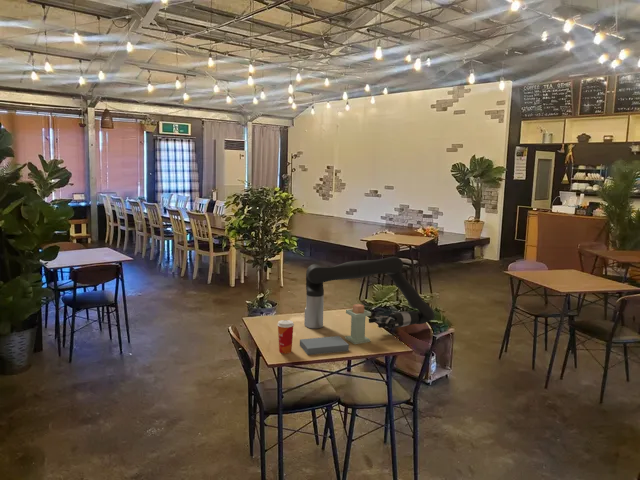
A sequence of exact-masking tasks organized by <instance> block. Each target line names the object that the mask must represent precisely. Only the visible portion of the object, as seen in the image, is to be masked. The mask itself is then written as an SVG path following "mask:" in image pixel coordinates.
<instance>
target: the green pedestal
mask: <svg viewBox="0 0 640 480" xmlns="http://www.w3.org/2000/svg"><path fill="white" fill-rule="evenodd" d="M345 313H346V314H347V315H349V316H351V317H350V319H351V321H350V335H345V337H344V340H347V342H348V341H349V342H350V343H351V344H353V345H357V344H358V345H359V344H364V343H370V342H371V339H370V338H369V337H367V336H366V317H371V316H372V312H371V311H370V310H366V309H365V308H364V313H360V314H355V313H353V308H351V309H346V310H345Z"/></svg>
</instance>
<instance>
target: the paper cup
mask: <svg viewBox="0 0 640 480" xmlns="http://www.w3.org/2000/svg"><path fill="white" fill-rule="evenodd" d="M294 326H295V324H294V322H293V320H289V319H287V320H286V319H284V320H283V319H281V320H278V322H277V331H278V335H277V337H278V352H279V353H280V354H285V355H286V354H291V353H292V350H293V349H292V347H293V336H294Z"/></svg>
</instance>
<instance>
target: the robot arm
mask: <svg viewBox="0 0 640 480" xmlns="http://www.w3.org/2000/svg"><path fill="white" fill-rule="evenodd" d="M403 267H404V262H403V260H402V259H401V258H400V257H397V256H389V257H385V258H380V259H373V260H372V259H369V260H368V259H366V260H352V261H347V262H343V263H340V264H337V265H335V266H321V265H320V264H317V263H313V264H310V265H309V266H308V267H307V269H306V272H305V288H306V289H305V291H306V294H305V295H306V299H305V301H306V304H305V305H306V306H305V308H304V325H305V327H306V328H309V329H321V328H323V327H324V305H325V304H324V302H325V301H324V300H325V299H324V298H325V296H324V295H325V294H324V293H325V291H324V283H326V282H331V281H338V280H339V281H340V280H355V279H362V278H366V277H369V276H373V275H377V274H378V275H379V274H387V275H388V277H389V278H390V279H391V280H392V281H393V282H394V284H395V285H396V286H397V287H398V289H399V290H400V292H401V294H402V295H403V297H404V298H405V300H406V301H407V302H408V304H409V306H410V307H411V308H412V309H417V310H418V311H414V310H409V311H397V312H391V313H390V314H389V315H388V316H385V315H384V314H382V315H374V316H373V317H371V318H369V319H368V323H369V324H372V323H377V324H378V325H377V327H378V328H381V329H382V328H388V329H394V328H395V329H396V328H402V327H406V326H411V325H423V324H425V323H426V324H427V323H428V322H431V321H432V320H434V318H435V314H434V310H433V309H432V308H431V306H430V305H428V304H427V303H426V302H425V301H424V300H423V299H422V297H421V295H420V294H419V293H418V291H417V290H416V289H415V287H414V286H413V285H412V284H411V283H410V282H409V281H408V280H407V278H406V277H405V276H404V274H403V271H402V270H403Z"/></svg>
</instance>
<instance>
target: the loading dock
mask: <svg viewBox="0 0 640 480" xmlns="http://www.w3.org/2000/svg"><path fill="white" fill-rule="evenodd" d="M299 347H300V348H301V349H302V350H303V351H304V353H305V354H306V355H307V356H312V355H321V354H331V353H342V352H349V350H350V345H349V343H348V342H346V341H345V339H344V338H342V337H341V336H340V335H334V336H323V337H312V338H301V339H299Z"/></svg>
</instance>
